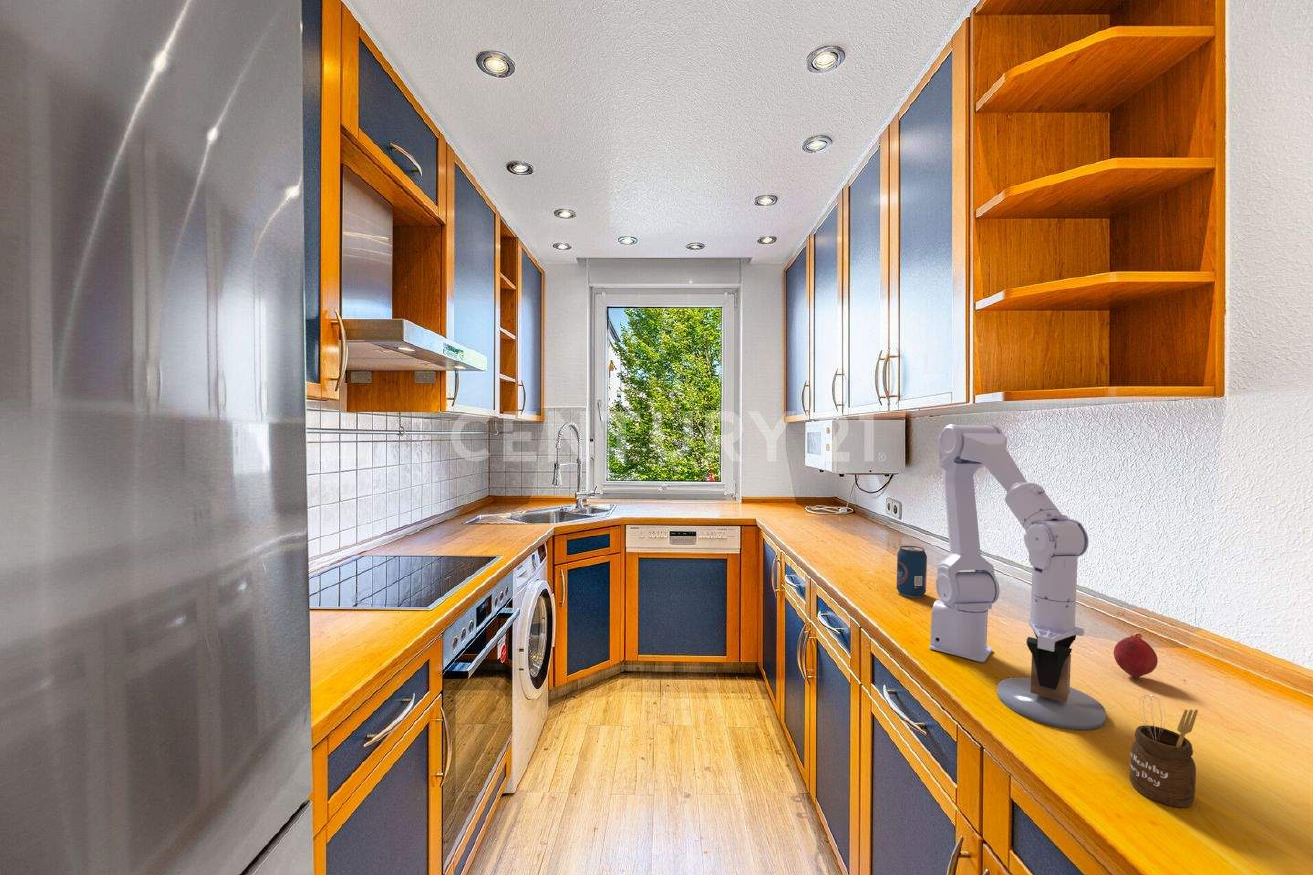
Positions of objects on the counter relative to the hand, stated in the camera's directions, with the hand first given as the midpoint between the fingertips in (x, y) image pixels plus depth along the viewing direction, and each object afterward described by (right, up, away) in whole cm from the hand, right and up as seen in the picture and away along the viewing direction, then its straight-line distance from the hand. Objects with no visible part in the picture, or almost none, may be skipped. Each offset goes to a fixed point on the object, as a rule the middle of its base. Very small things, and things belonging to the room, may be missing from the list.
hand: (1050, 681), depth 88 cm
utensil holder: (-1, -5, -20) cm, 21 cm away
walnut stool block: (0, -2, 0) cm, 2 cm away
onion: (+22, -4, +10) cm, 25 cm away
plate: (0, -4, 0) cm, 4 cm away
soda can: (+3, -2, +56) cm, 56 cm away
